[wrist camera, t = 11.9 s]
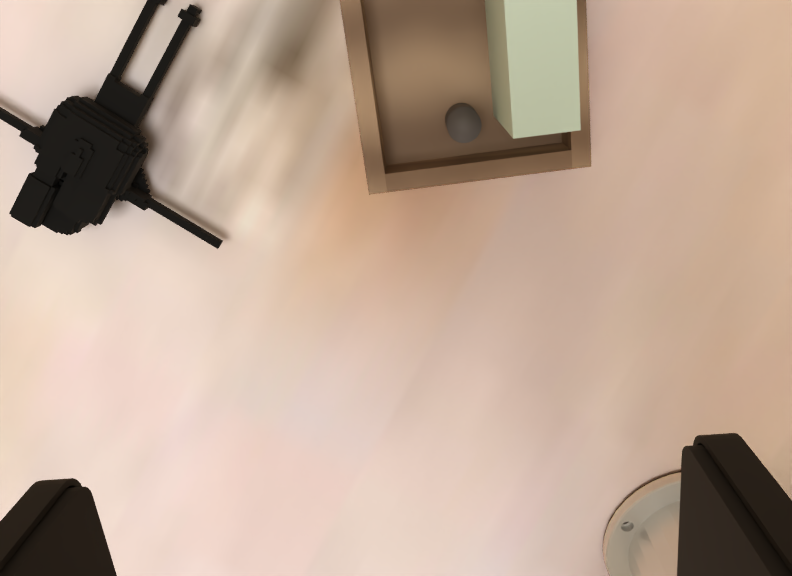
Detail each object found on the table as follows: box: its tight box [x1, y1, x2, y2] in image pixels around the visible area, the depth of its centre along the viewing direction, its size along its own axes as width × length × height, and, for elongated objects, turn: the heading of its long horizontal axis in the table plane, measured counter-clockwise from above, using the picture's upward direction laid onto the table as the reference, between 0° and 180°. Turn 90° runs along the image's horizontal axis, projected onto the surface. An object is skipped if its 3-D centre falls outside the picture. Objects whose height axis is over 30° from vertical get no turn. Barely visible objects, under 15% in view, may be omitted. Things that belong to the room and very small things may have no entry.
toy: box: [0, 0, 223, 249], centre depth 38 cm, size 17×5×15 cm
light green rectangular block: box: [485, 0, 581, 139], centre depth 33 cm, size 10×3×8 cm, turn 7°
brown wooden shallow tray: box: [340, 0, 591, 195], centre depth 36 cm, size 16×12×4 cm
